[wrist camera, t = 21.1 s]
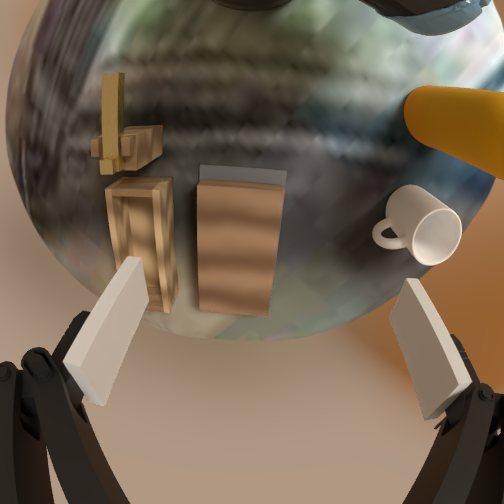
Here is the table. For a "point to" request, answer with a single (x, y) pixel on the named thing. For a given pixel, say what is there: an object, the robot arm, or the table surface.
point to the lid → (237, 244)
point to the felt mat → (244, 177)
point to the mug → (419, 225)
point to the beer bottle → (460, 124)
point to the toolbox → (143, 215)
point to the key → (112, 123)
